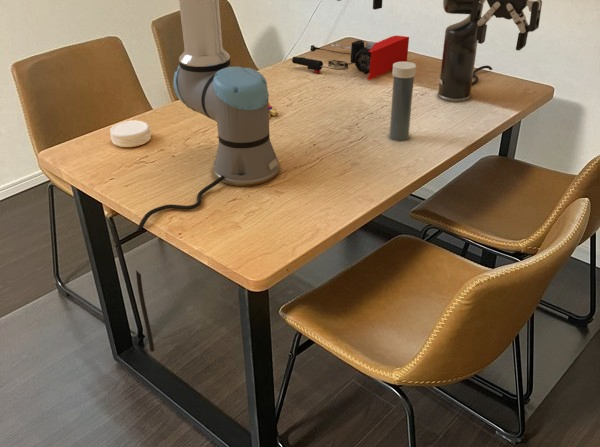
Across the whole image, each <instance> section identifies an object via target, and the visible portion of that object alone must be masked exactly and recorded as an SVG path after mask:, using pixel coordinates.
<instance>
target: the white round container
mask: <svg viewBox="0 0 600 447" xmlns="http://www.w3.org/2000/svg"><path fill="white" fill-rule="evenodd" d="M150 128H151V126H150V125H149V123H147V122H146V121H142V120H133V119H132V120H125V121H120V122H118V123H116V124H113V126H111V128H110V129H109V134H110V138H111V142H112V144H113V145H114V146H116V147H120V148H134V147H139V146H142V145H144V144H147V143H148V142H149V141H150V140H151V138H152V135H151V129H150Z"/></svg>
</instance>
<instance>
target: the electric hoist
mask: <svg viewBox="0 0 600 447" xmlns="http://www.w3.org/2000/svg"><path fill="white" fill-rule="evenodd" d="M409 42H410V37H409V36H403V35H391V36H389V37H387V38H385V39H382V40H379V41H373V40H372V41H371V40H370V41H368V42H367V43H366V44H365V41H364V40H360V39H359V40H356V41H352V42H351V45H350V46H349V45H345V44H343V43H342V44H337V43H331V45H330V46H331V47H334V48H341V49H349V50H350V52H349V53H348V52H341V51H335V50H329V49H324V48H320V47H318V46H315V45H314V44H312V45H310V52H313V53H314V52H315V51H316V50H322V51H326V52H332V53H339V54H342V55H343V54H344V55H350V63H349V62H347V61H344V60H337V59H333V60H328V61H327V62H328V66H324V63H323V61H322V60H317V59H312V58H306V57H299V56H292V59H291V62H292V63H293V64H296V65H300V66H304V67H307V70H311V71H313V72H314V73H315V74H319V73H321V70H322V69H323V68H326V69H331V70H337V71H345V70H347V69H349V65H352V64H354V65H355V67H356V69H357V70H358V71H359V72H360V73H362V74H365V75H368V76H367V78H366V80H368V81H371V80H373V79H376V78H377V77H380V76H382V75H384V74H387V73H388V72H390V71H393V64H394V63H396V62H408V53H409V45H410V43H409ZM343 46H344V47H343Z"/></svg>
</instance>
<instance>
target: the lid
mask: <svg viewBox="0 0 600 447" xmlns="http://www.w3.org/2000/svg"><path fill="white" fill-rule="evenodd" d="M416 71H417V64H416V63H414V62H412V61H407V62H396V63H394V64H393V69H392V73H391V74H392V77H394V76H395V77H398V78H412V77H414V78H415V76H416V73H417V72H416Z"/></svg>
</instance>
